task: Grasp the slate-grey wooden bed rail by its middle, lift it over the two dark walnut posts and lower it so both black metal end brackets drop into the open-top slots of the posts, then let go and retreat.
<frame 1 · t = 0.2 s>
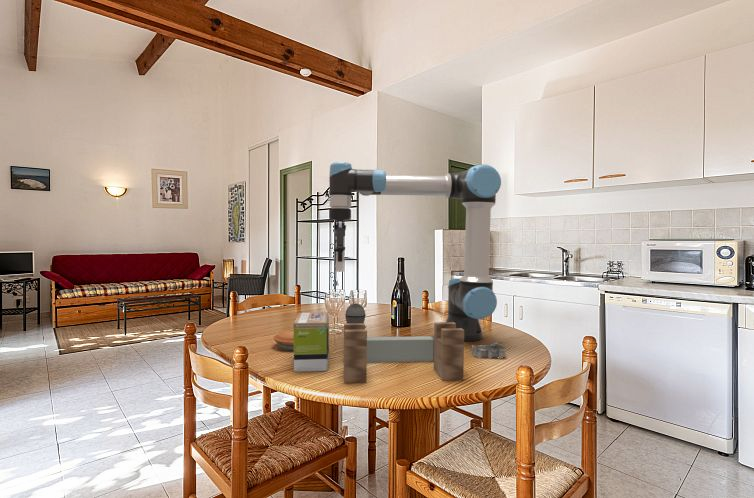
hand: (339, 269, 143), 28 cm above the table, fingers open, 13 cm apart
pie: (295, 347, 147), on the table
egg carton: (488, 356, 138), on the table
tea box: (312, 364, 127), on the table
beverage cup: (355, 348, 146), on the table
bed rail: (394, 360, 132), on the table
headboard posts: (401, 375, 118), on the table
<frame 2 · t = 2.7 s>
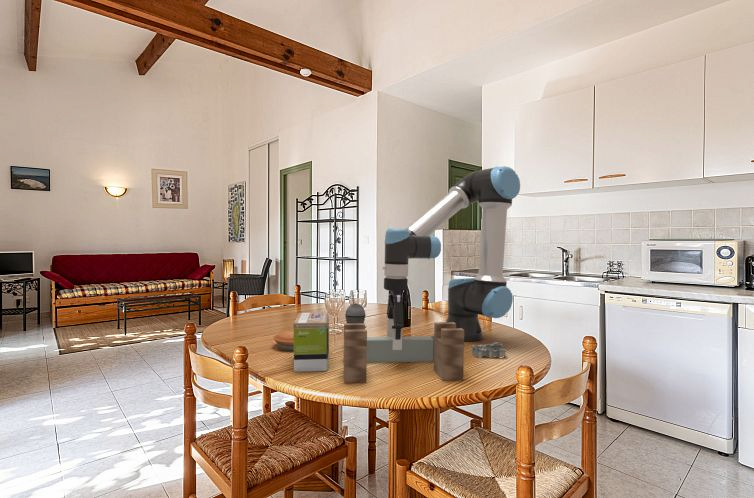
hand: (393, 343, 132), 5 cm above the table, fingers open, 13 cm apart
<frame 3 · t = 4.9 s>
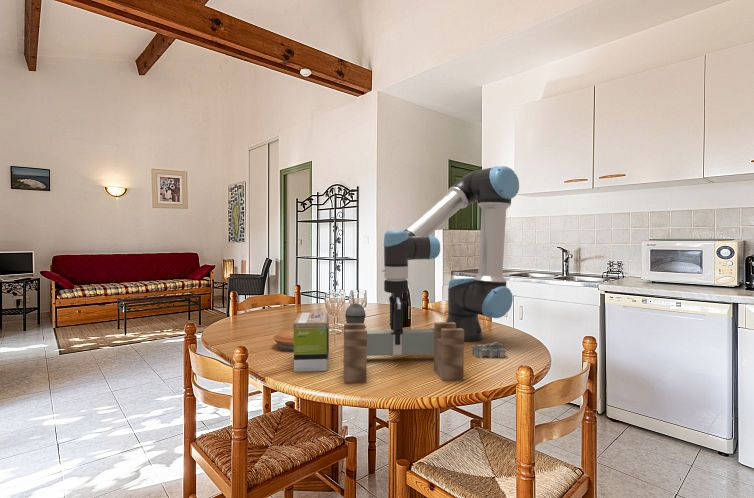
hand: (396, 351, 132), 3 cm above the table, fingers closed on bed rail, 4 cm apart
bed rail: (396, 353, 132), point 2 cm above the table, touching gripper
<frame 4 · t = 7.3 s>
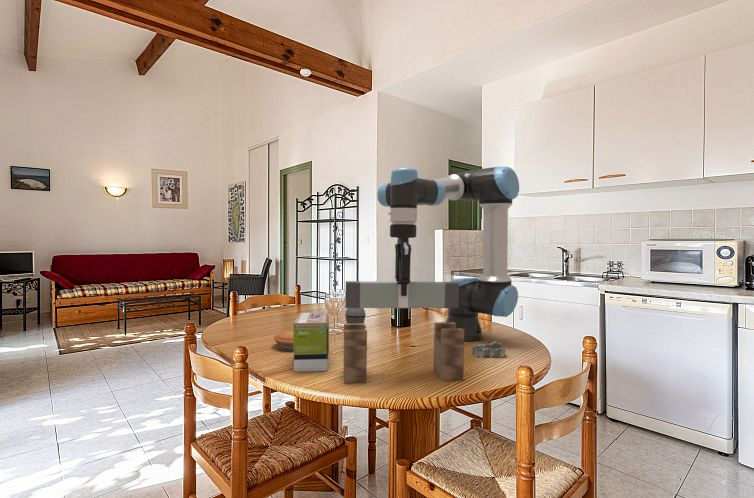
hand: (401, 305, 118), 20 cm above the table, fingers closed on bed rail, 4 cm apart
bed rail: (401, 306, 118), point 20 cm above the table, touching gripper
when the fingers open (10 cm above the table, at t = 9.9 s): bed rail stays where it is, resting on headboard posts.
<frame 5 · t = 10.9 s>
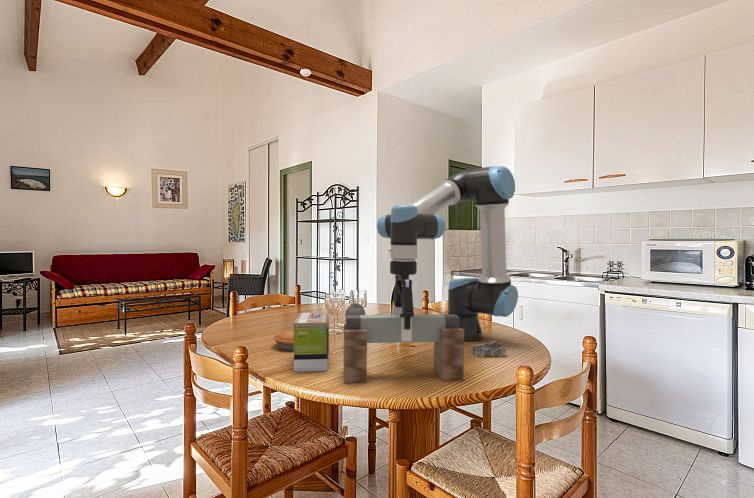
hand: (402, 334, 118), 12 cm above the table, fingers open, 13 cm apart
bed rail: (402, 340, 118), point 10 cm above the table, touching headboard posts
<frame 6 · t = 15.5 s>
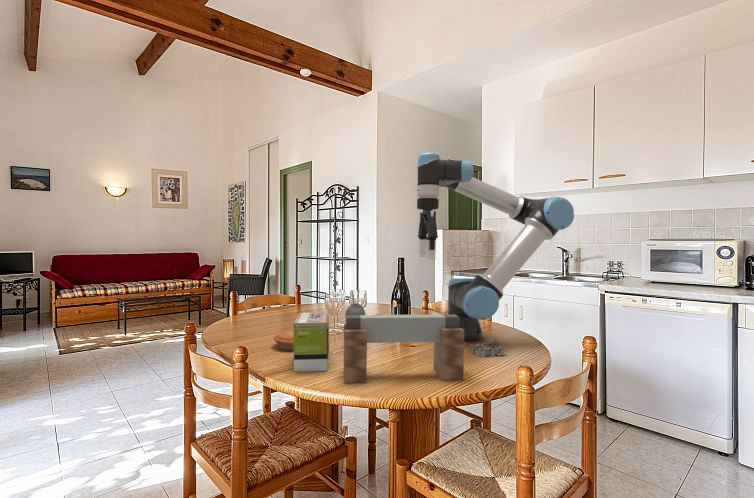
hand: (426, 258, 146), 32 cm above the table, fingers open, 13 cm apart
at the end: bed rail 0.1 cm off-centre on the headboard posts, point 10.0 cm above the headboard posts's base; bed rail tilted 0°; the gripper is holding nothing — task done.
